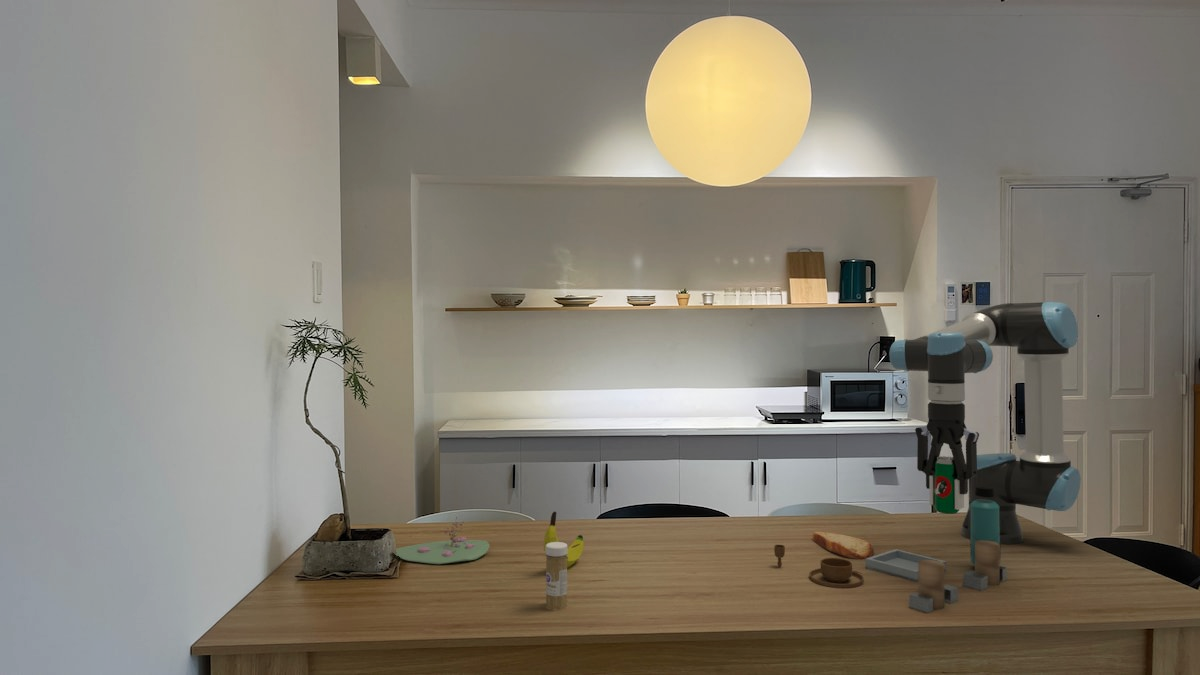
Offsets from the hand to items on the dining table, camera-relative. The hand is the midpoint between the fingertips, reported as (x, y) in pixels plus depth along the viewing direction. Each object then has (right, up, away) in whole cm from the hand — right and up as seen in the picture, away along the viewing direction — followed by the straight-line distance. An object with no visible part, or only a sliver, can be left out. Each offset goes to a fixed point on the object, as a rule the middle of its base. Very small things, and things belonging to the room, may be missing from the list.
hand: (946, 505), depth 172 cm
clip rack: (+1, -18, -4) cm, 19 cm away
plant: (-119, -19, +30) cm, 124 cm away
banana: (-86, -19, +15) cm, 89 cm away
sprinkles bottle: (-86, -19, -12) cm, 89 cm away
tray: (-4, -18, +13) cm, 22 cm away
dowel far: (+11, -18, +3) cm, 21 cm away
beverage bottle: (+15, -18, +13) cm, 27 cm away
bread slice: (-14, -19, +32) cm, 39 cm away
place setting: (-25, -19, +9) cm, 32 cm away
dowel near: (-8, -18, -12) cm, 23 cm away
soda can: (0, -1, 0) cm, 1 cm away
